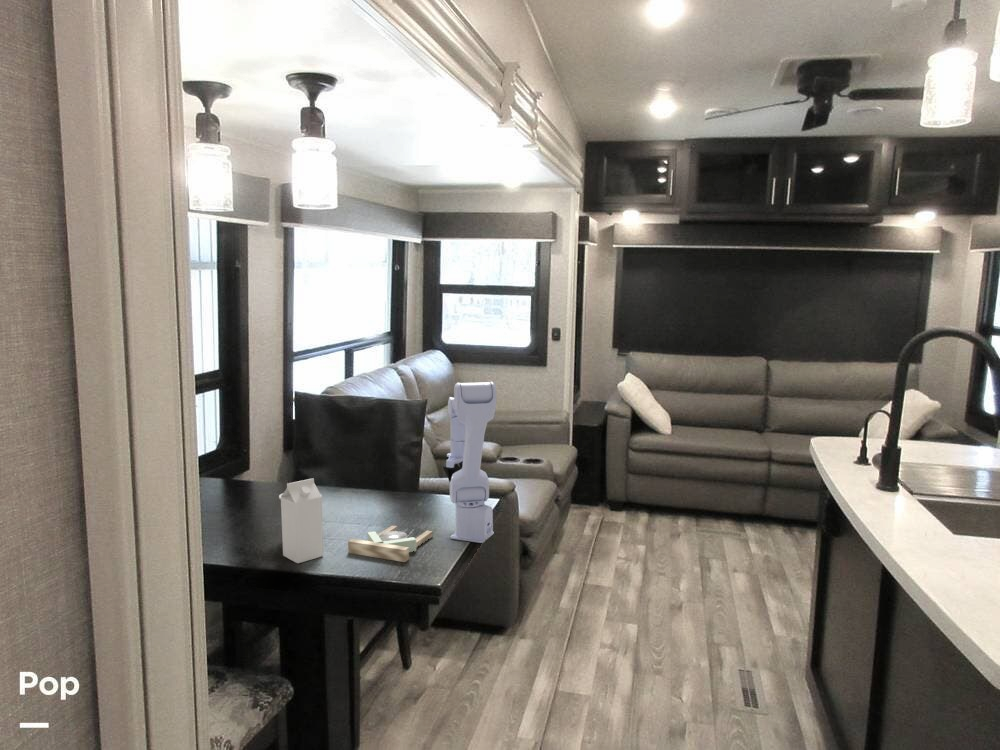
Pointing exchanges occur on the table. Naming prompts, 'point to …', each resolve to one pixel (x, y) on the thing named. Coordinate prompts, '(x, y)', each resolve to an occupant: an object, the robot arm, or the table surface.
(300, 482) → the milk carton
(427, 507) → the table surface
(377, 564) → the table surface
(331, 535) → the table surface
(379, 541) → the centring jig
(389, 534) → the aluminium cover
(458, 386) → the robot arm
